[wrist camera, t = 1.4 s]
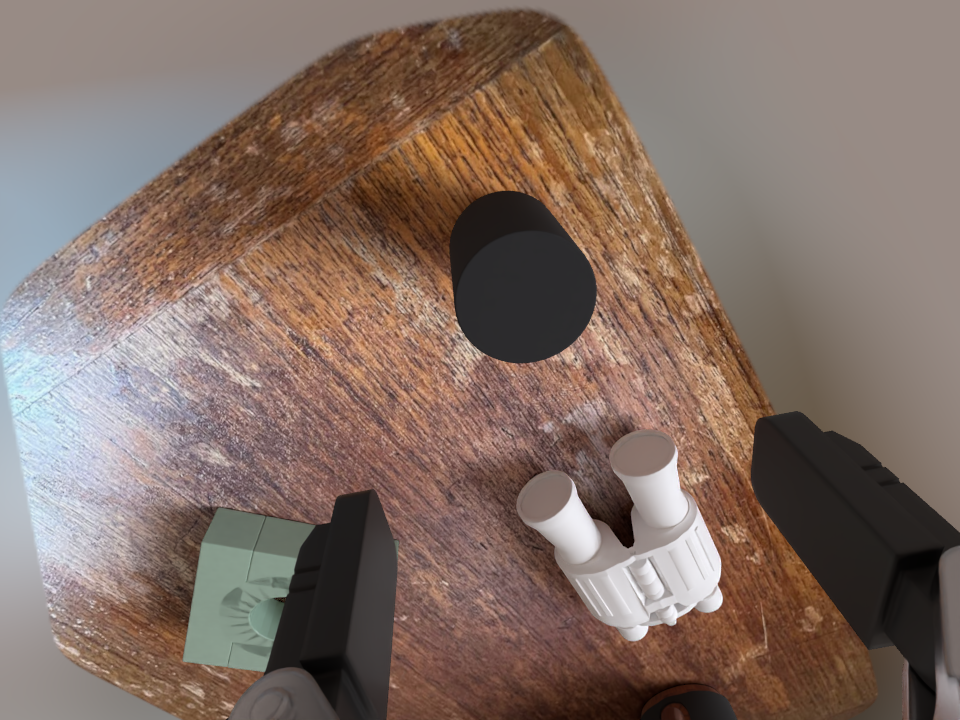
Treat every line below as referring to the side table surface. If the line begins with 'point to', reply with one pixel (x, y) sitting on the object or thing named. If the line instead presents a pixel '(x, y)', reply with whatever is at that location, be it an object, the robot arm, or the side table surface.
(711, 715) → the mug
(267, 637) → the green block with hole
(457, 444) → the side table surface
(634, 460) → the binoculars
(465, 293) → the stopper
